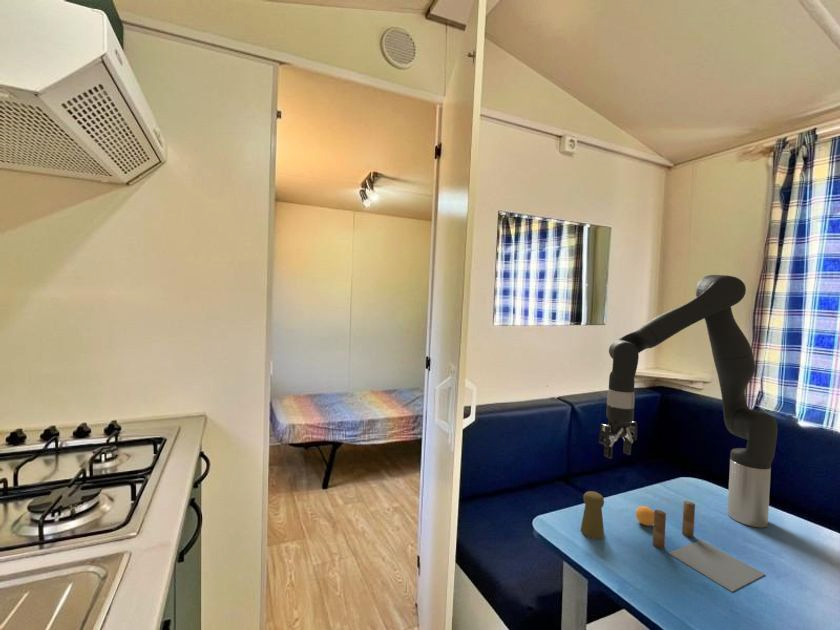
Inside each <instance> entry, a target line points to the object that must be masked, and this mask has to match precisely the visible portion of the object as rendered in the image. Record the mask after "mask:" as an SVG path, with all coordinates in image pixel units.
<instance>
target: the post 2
mask: <svg viewBox="0 0 840 630" xmlns="http://www.w3.org/2000/svg"><path fill="white" fill-rule="evenodd" d="M682 505H683V507H682V509H683V510H682V526H681V527H682V528H681V534H682V535H683V536H684V537H687V538H689V539H693V538H694V535H695V534H694V532H695V517H696V516H695V514H696V513H695V512H696V511H695V510H696V504H695V503H694V502H692V501H690V500H683V504H682Z"/></svg>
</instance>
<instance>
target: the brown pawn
mask: <svg viewBox="0 0 840 630" xmlns="http://www.w3.org/2000/svg"><path fill="white" fill-rule="evenodd" d="M583 503H584V504H585V505H584V510H583V515H582V520H581V525H580V532H581V534H583V535H584V536H585V537H587V538H589V539H592V540H593V539H594V540H602V539H603V538H604V537H605V529H604V519H603V508H604V505H605V500H604V497H603V495H602V494H600V493H598V492H597V491H591V490H590V491H589V490H588V491H585V493H584V494H583Z"/></svg>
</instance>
